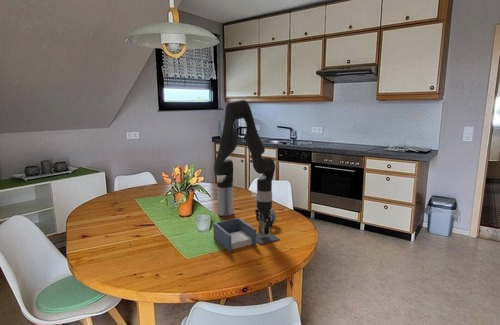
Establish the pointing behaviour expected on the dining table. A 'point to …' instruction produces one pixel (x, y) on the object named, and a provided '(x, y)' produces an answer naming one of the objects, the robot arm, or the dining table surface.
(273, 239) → the rubber mat
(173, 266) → the dining table surface
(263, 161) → the robot arm
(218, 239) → the slot box
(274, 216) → the donut
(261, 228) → the maple block
